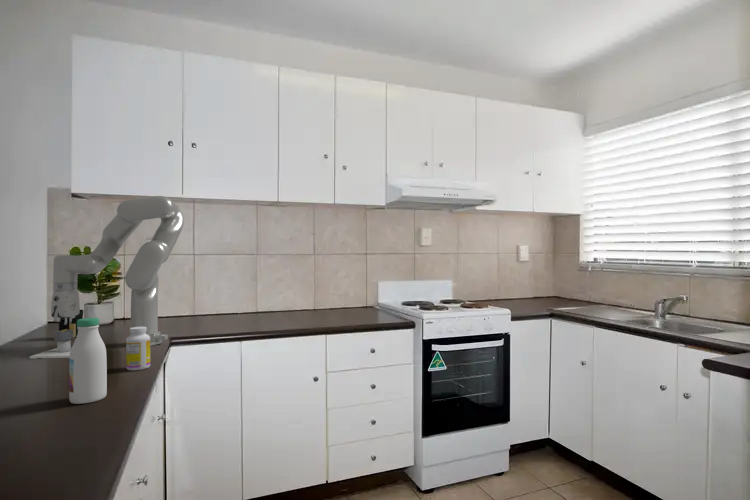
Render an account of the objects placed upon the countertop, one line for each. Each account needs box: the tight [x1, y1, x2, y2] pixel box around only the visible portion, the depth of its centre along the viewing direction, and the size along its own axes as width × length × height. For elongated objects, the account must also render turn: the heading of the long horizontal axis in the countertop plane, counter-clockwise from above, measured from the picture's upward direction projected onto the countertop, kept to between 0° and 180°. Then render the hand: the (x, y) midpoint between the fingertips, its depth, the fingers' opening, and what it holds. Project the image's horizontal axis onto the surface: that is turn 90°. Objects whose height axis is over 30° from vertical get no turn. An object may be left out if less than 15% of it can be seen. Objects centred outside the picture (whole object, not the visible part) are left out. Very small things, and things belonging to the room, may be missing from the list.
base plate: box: [29, 339, 72, 360], centre depth 154 cm, size 14×14×5 cm
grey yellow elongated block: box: [54, 324, 76, 342], centre depth 157 cm, size 12×6×5 cm, turn 19°
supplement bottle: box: [125, 327, 151, 371], centre depth 133 cm, size 7×7×13 cm
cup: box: [71, 309, 84, 338], centre depth 183 cm, size 8×8×12 cm
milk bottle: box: [68, 317, 108, 405], centre depth 104 cm, size 8×8×20 cm
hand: (64, 335), depth 161 cm, fingers closed
